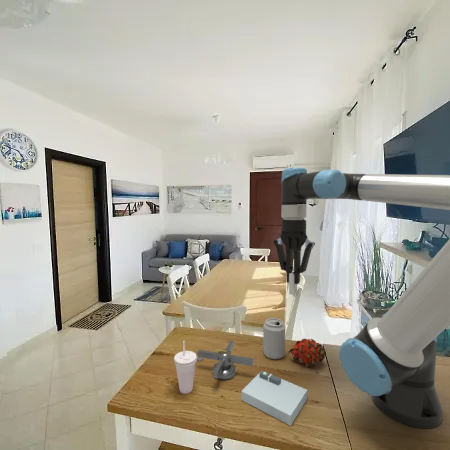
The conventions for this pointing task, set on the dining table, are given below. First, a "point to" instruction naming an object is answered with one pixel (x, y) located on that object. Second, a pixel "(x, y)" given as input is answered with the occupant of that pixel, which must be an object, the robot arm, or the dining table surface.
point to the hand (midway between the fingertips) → (293, 293)
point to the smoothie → (185, 369)
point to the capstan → (225, 361)
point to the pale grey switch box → (275, 396)
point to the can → (274, 338)
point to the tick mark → (199, 359)
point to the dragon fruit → (308, 352)
